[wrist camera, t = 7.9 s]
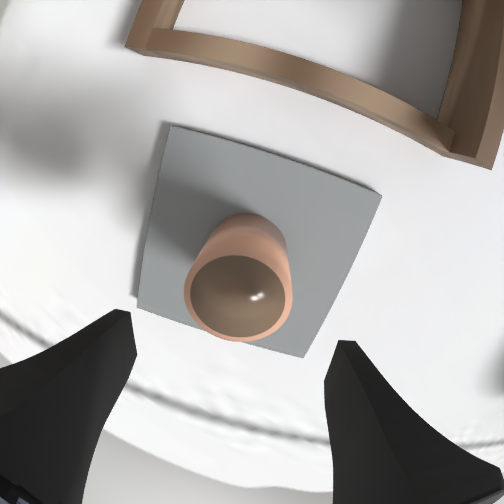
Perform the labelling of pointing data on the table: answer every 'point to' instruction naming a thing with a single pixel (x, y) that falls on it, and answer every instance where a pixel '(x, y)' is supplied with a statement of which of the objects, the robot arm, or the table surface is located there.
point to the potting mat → (259, 203)
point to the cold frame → (355, 91)
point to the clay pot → (241, 280)
